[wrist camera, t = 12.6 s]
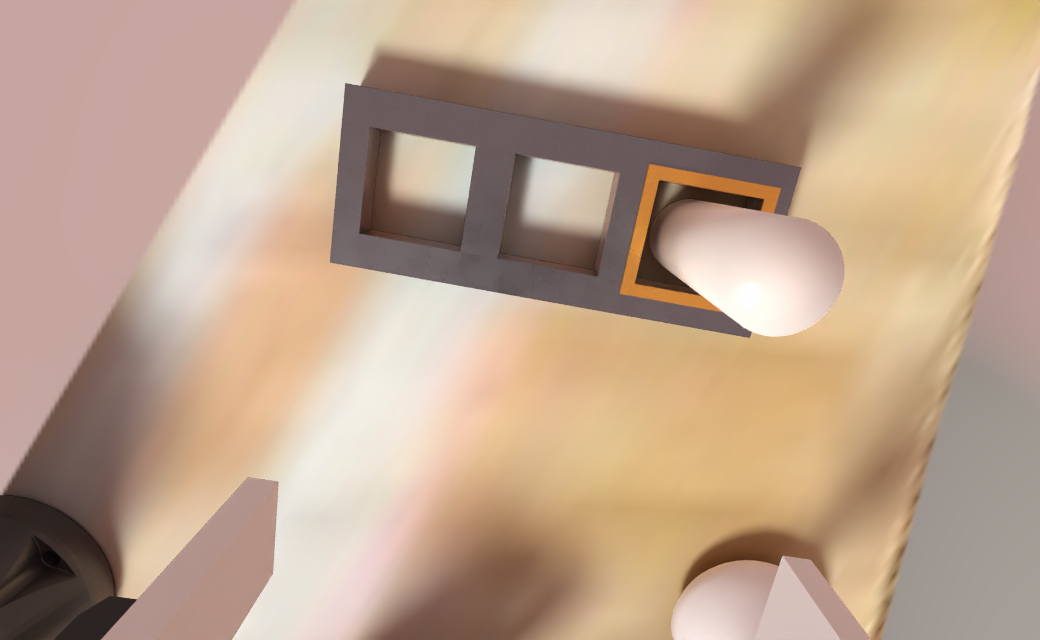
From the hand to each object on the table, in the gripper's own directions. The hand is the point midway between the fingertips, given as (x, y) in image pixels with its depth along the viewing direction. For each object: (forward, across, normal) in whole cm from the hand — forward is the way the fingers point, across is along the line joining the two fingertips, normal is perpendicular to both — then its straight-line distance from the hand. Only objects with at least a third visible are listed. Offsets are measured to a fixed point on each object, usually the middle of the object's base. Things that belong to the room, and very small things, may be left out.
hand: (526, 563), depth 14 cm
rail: (+26, +1, +8) cm, 27 cm away
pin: (+25, +10, +7) cm, 28 cm away
